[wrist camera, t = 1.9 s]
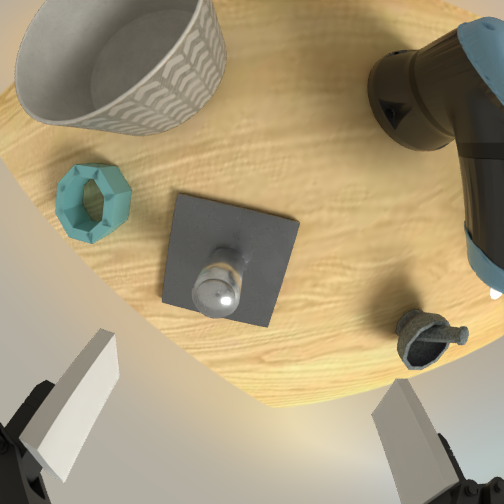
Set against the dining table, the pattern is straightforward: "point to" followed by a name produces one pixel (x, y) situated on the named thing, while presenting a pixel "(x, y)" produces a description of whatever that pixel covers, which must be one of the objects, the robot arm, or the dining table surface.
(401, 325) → the mortar and pestle
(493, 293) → the champagne flute
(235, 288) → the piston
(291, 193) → the dining table surface
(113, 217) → the ring
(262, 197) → the dining table surface
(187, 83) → the planter
